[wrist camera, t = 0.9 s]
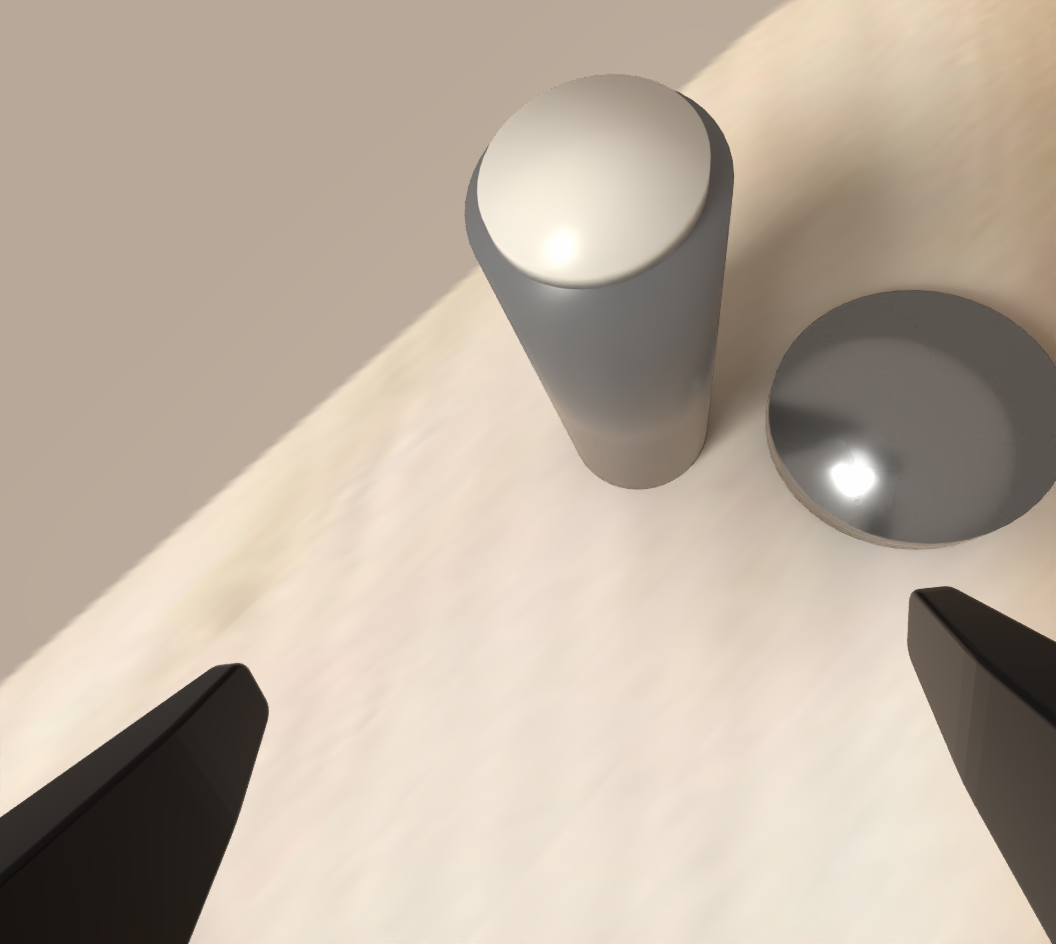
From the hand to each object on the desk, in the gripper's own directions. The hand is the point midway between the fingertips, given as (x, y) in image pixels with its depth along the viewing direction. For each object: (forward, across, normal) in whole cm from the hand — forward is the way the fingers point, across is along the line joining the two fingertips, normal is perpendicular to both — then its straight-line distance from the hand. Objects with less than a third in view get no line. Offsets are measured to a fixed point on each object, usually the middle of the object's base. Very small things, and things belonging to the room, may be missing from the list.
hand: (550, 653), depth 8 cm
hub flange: (+14, -10, +4) cm, 18 cm away
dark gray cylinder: (+15, -1, +4) cm, 16 cm away
